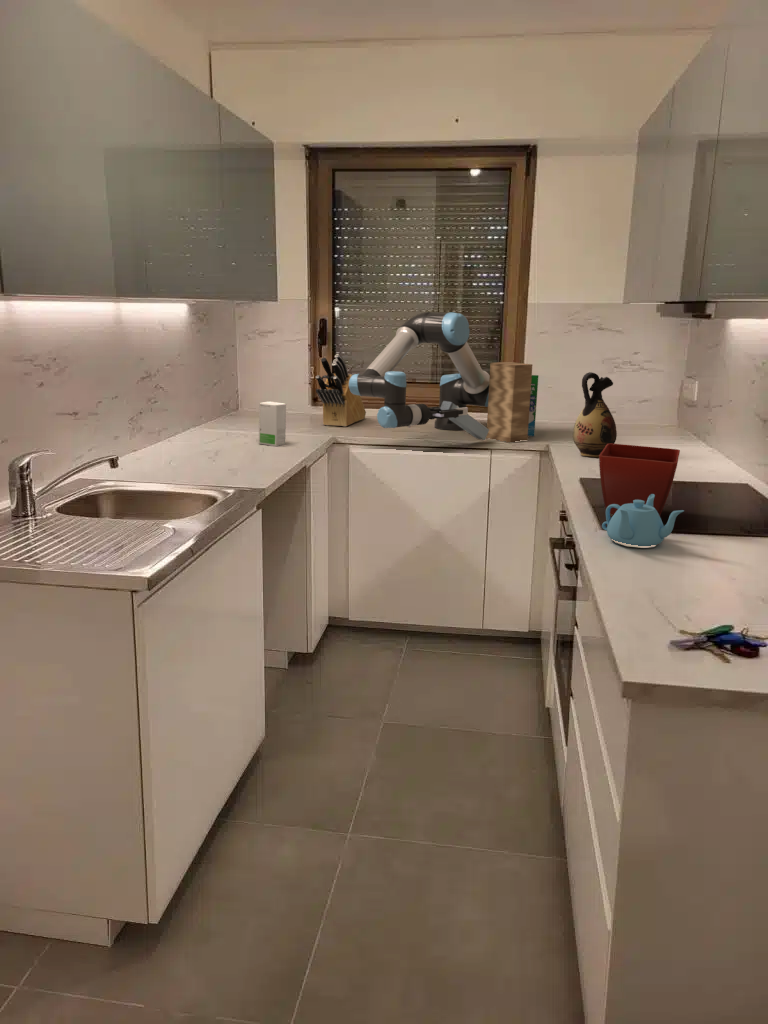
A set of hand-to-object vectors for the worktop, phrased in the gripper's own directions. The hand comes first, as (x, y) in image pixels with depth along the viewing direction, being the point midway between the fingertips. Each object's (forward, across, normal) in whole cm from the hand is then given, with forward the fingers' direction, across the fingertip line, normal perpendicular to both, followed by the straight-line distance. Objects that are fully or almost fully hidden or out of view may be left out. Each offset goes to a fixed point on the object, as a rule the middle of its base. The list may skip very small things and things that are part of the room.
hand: (462, 410), depth 303 cm
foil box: (0, 0, -6) cm, 6 cm away
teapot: (-52, +114, -14) cm, 126 cm away
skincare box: (-58, -41, -14) cm, 73 cm away
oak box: (+26, 0, -14) cm, 29 cm away
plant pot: (-30, +98, -14) cm, 103 cm away
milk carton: (+41, -5, -14) cm, 43 cm away
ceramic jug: (+27, +40, -14) cm, 50 cm away
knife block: (-8, -67, -14) cm, 69 cm away
